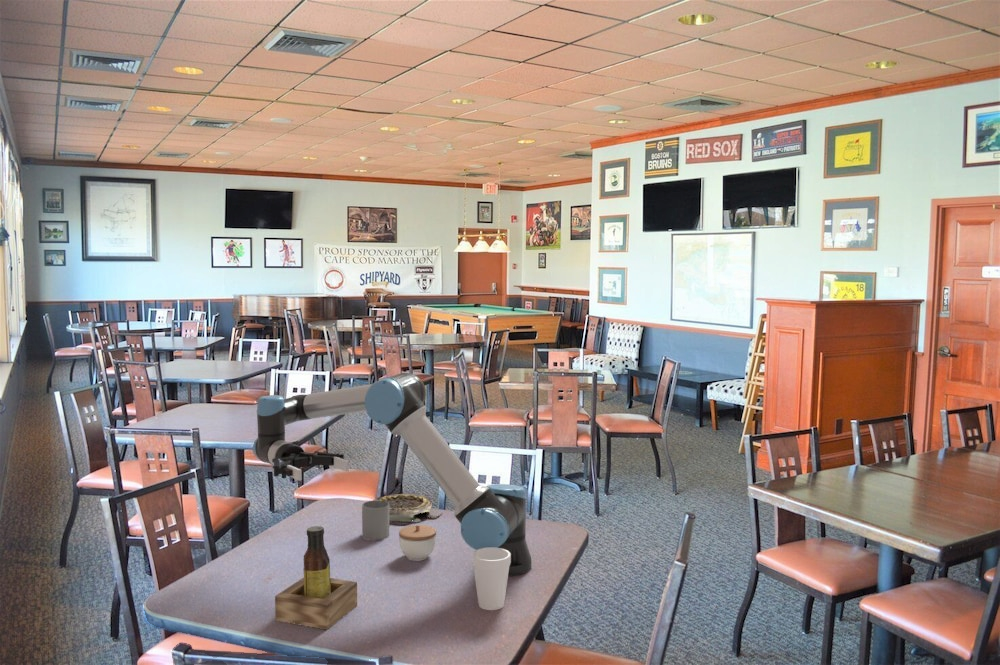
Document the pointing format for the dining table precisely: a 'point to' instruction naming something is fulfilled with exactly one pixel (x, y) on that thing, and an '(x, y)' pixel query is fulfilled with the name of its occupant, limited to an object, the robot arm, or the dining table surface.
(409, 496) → the pie
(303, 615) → the open wooden box
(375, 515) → the cup
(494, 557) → the foam cup
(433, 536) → the lidded jar
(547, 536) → the dining table surface
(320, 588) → the sauce bottle
